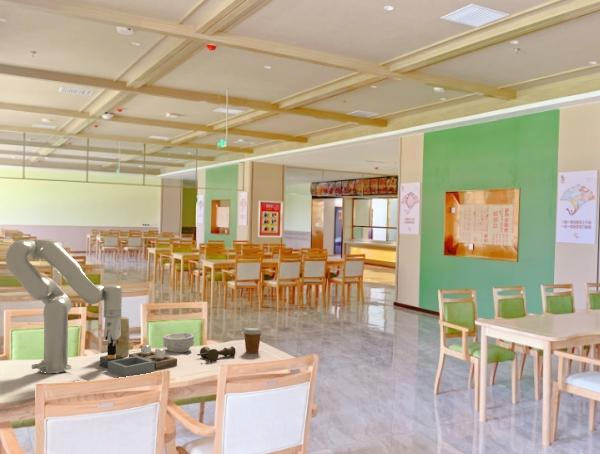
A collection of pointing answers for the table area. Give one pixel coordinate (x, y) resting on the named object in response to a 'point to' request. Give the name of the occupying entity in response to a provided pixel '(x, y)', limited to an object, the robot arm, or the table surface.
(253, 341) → the disposable coffee cup
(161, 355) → the cylinder
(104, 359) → the button housing
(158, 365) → the brown compartment tray
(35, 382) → the table surface
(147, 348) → the cylinder
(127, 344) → the food model
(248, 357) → the table surface
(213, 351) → the kendama
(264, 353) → the table surface
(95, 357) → the table surface
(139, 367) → the tray
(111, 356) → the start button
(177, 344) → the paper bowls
